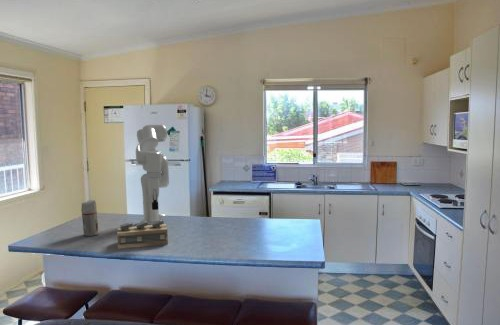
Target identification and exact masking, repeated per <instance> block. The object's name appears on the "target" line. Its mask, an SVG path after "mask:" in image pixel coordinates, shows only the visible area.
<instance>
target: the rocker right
mask: <svg viewBox="0 0 500 325" xmlns="http://www.w3.org/2000/svg"><path fill="white" fill-rule="evenodd" d="M163 219H164V218H161V220H159V221H156V222H154V223H152V224H151V225H152V226H153V227H156V223H160V225H162V224H165V223H164V220H163Z"/></svg>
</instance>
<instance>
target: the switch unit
mask: <svg viewBox="0 0 500 325" xmlns="http://www.w3.org/2000/svg"><path fill="white" fill-rule="evenodd" d="M139 223H142V222H139ZM140 227H141V228H138V229H137V227H136V225H133V227H129V228H128V226H124V229H122V230H121V228H120V226H119V227H117V237H116V238H117V239H116V240H117V250H118V249H128V248H129V249H130V248H140V247H150V246H151V247H153V246H160V245H161V246H162V245H168V244H169V242H168V239H169V238H168V236H169V235H168V234H169V233H168V227H167V223H164V224H162V225H160V223H156V227H153V226H152V224H148V225H147V226H144V225H140Z"/></svg>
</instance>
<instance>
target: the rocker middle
mask: <svg viewBox="0 0 500 325" xmlns="http://www.w3.org/2000/svg"><path fill="white" fill-rule="evenodd" d="M140 225H144V226H147V225H149V224H148V221H144V222H142V223H140V222H139V223H136V224H135V226H136V227H137V229H138V228H141V227H140Z"/></svg>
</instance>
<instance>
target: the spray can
mask: <svg viewBox="0 0 500 325" xmlns="http://www.w3.org/2000/svg"><path fill="white" fill-rule="evenodd" d="M80 211H81V216H82V228H83V236H84V237H92V236H94V237H95V236H97V235H99V222H98V212H97V203H96V199H95V200H94V199H89V200H87V201H85V202H82V203H81V210H80Z"/></svg>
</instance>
